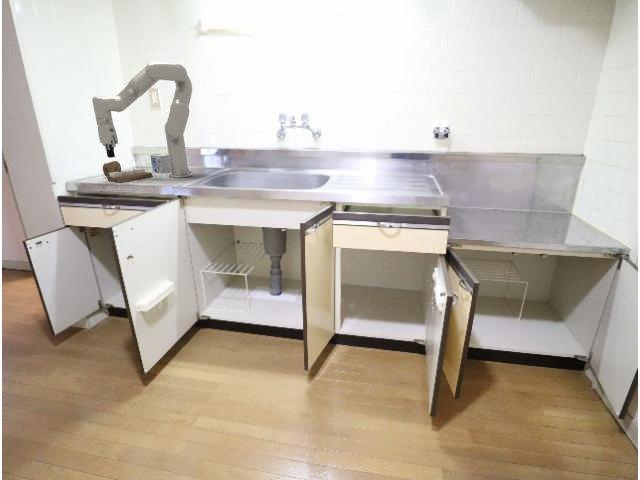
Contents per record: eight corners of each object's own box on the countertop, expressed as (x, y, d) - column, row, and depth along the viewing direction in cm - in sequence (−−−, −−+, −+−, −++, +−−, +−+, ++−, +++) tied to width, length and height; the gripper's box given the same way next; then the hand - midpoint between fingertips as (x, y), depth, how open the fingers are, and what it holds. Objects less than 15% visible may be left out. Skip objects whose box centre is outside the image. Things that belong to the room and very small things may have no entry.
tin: (108, 178, 207) (105, 163, 204) (103, 178, 207) (100, 163, 204) (122, 173, 221) (120, 159, 218) (117, 173, 221) (114, 159, 218)
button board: (152, 177, 210) (151, 172, 209) (119, 183, 194) (118, 178, 193) (140, 175, 216) (140, 170, 215) (107, 181, 200) (106, 176, 199)
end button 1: (122, 177, 200) (121, 172, 199) (114, 179, 197) (113, 173, 196) (117, 177, 203) (116, 171, 201) (110, 178, 199) (108, 172, 198)
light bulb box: (152, 171, 227) (149, 154, 223) (162, 170, 232) (159, 153, 229) (162, 173, 222) (160, 155, 218) (172, 171, 227) (169, 154, 223)
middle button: (134, 175, 206) (133, 170, 205) (126, 177, 202) (125, 171, 201) (129, 175, 208) (128, 169, 207) (122, 176, 205) (121, 171, 204)
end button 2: (145, 173, 212) (144, 168, 211) (138, 175, 208) (137, 169, 207) (140, 173, 214) (139, 168, 213) (133, 174, 210) (132, 169, 209)
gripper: (119, 122, 189) (126, 157, 195) (103, 121, 196) (110, 155, 202) (105, 122, 183) (112, 159, 189) (89, 121, 190) (96, 157, 196)
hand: (111, 157), depth 196 cm, fingers closed
